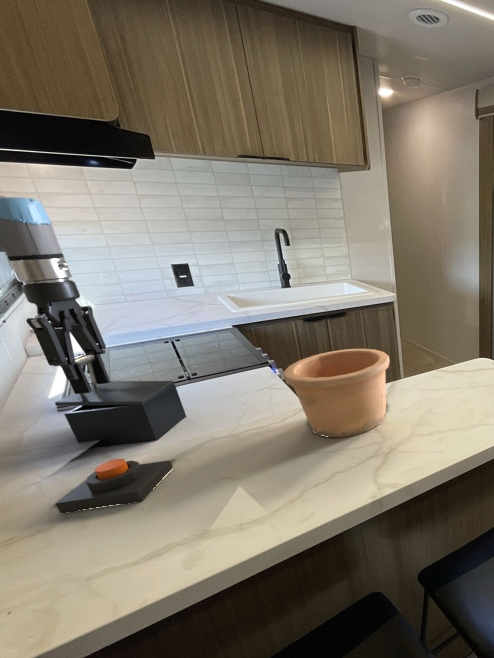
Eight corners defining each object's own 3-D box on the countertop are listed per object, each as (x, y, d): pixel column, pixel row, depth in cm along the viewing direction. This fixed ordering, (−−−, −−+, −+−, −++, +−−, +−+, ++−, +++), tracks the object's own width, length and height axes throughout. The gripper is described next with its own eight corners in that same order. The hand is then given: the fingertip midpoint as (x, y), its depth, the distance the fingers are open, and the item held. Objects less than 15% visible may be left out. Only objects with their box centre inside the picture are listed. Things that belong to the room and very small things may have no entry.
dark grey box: (81, 450, 87) (63, 414, 84) (120, 424, 99) (106, 391, 95) (157, 440, 89) (142, 405, 86) (186, 416, 101) (174, 384, 98)
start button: (92, 481, 69) (88, 473, 68) (109, 468, 72) (105, 460, 72) (119, 478, 69) (115, 469, 69) (134, 465, 73) (130, 457, 72)
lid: (55, 405, 83) (42, 365, 80) (99, 384, 95) (89, 348, 92) (142, 404, 86) (132, 366, 83) (174, 383, 98) (167, 349, 95)
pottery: (363, 394, 108) (354, 343, 103) (416, 415, 95) (408, 357, 90) (282, 426, 93) (266, 368, 88) (330, 455, 80) (315, 389, 74)
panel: (60, 514, 66) (49, 494, 65) (103, 479, 76) (94, 461, 74) (142, 502, 68) (133, 482, 67) (174, 469, 78) (167, 451, 76)
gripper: (29, 285, 73) (82, 402, 81) (101, 275, 90) (138, 372, 98) (-20, 288, 72) (38, 406, 80) (62, 277, 88) (103, 375, 97)
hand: (93, 387), depth 89 cm, fingers closed on lid, 5 cm apart
